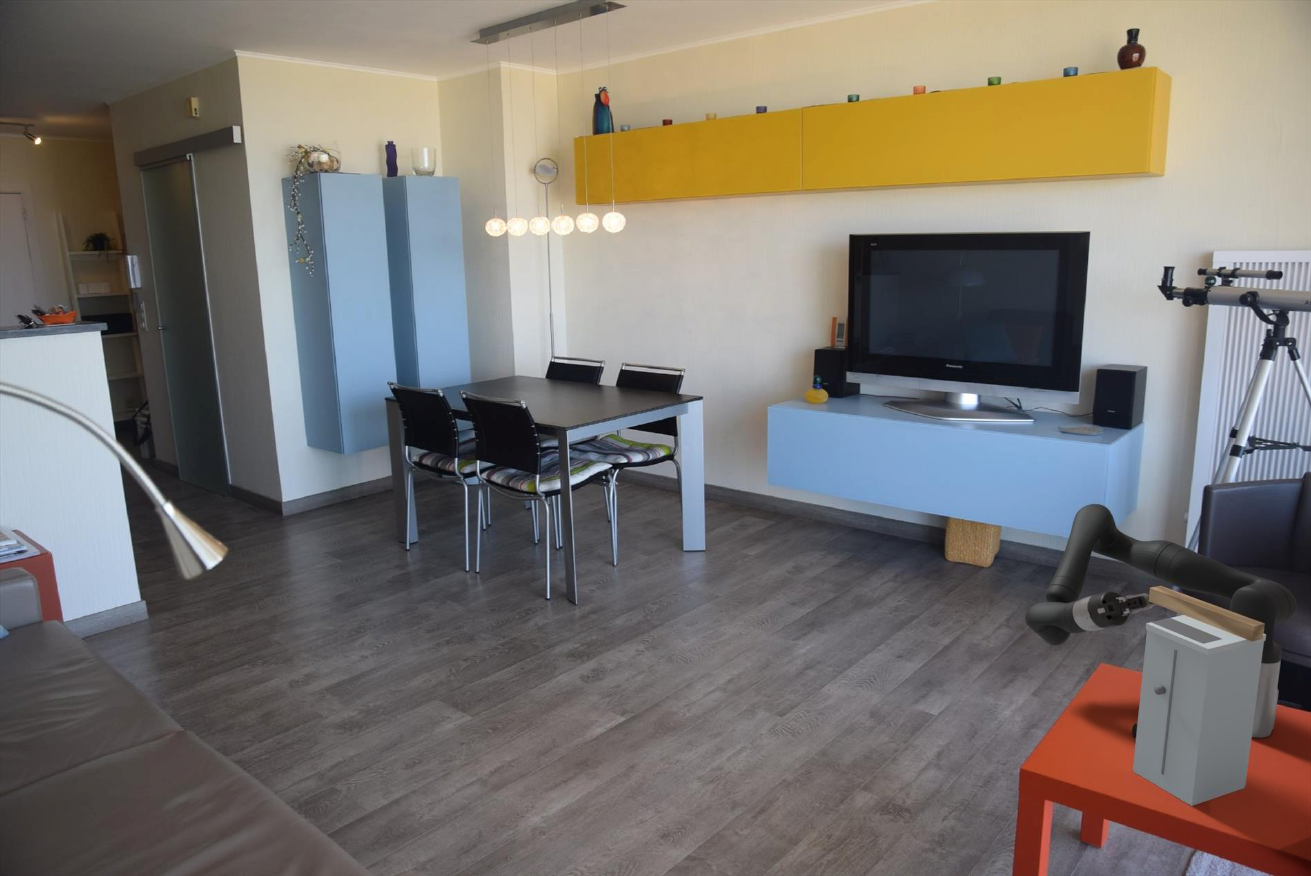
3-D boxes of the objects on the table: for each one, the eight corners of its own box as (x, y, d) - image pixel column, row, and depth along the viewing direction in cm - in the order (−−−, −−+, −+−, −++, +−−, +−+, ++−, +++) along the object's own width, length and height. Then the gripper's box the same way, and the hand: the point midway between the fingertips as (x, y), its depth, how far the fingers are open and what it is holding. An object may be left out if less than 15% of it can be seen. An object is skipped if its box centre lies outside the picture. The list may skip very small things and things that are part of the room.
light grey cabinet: (1186, 754, 191) (1202, 610, 184) (1246, 787, 179) (1266, 634, 173) (1128, 772, 185) (1143, 623, 178) (1187, 807, 173) (1205, 649, 166)
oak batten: (1158, 599, 191) (1160, 585, 190) (1262, 638, 171) (1264, 623, 170) (1148, 601, 190) (1150, 587, 189) (1252, 641, 170) (1253, 626, 169)
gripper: (1129, 623, 204) (1190, 610, 190) (1081, 633, 199) (1140, 621, 185) (1117, 590, 207) (1177, 575, 192) (1070, 599, 201) (1127, 584, 187)
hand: (1159, 597), depth 189 cm, fingers open, 8 cm apart
